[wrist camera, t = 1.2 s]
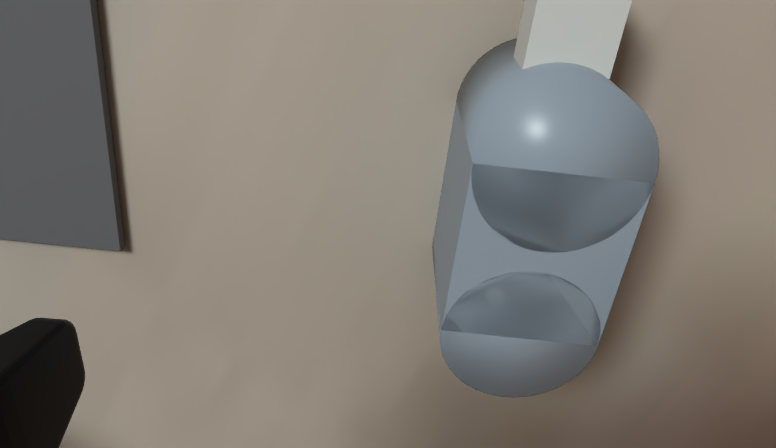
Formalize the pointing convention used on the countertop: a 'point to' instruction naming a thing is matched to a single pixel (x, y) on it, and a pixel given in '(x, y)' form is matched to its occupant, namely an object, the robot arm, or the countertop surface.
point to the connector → (540, 200)
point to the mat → (56, 127)
